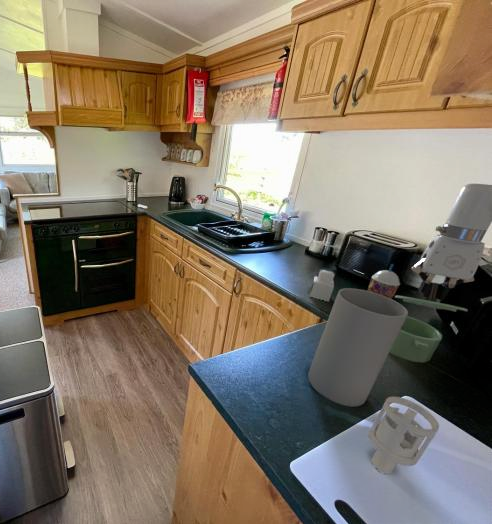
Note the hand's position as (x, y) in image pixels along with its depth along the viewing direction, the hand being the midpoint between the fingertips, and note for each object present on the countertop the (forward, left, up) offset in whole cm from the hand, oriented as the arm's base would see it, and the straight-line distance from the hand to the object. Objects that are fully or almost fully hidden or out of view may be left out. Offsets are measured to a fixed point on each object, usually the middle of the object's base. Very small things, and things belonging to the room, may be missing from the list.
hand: (430, 296), depth 81 cm
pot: (0, -3, -20) cm, 20 cm away
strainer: (+17, +46, -20) cm, 53 cm away
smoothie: (+2, -27, -20) cm, 33 cm away
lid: (0, +1, -2) cm, 2 cm away
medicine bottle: (+20, -30, -20) cm, 41 cm away
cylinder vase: (+22, +27, -20) cm, 40 cm away
